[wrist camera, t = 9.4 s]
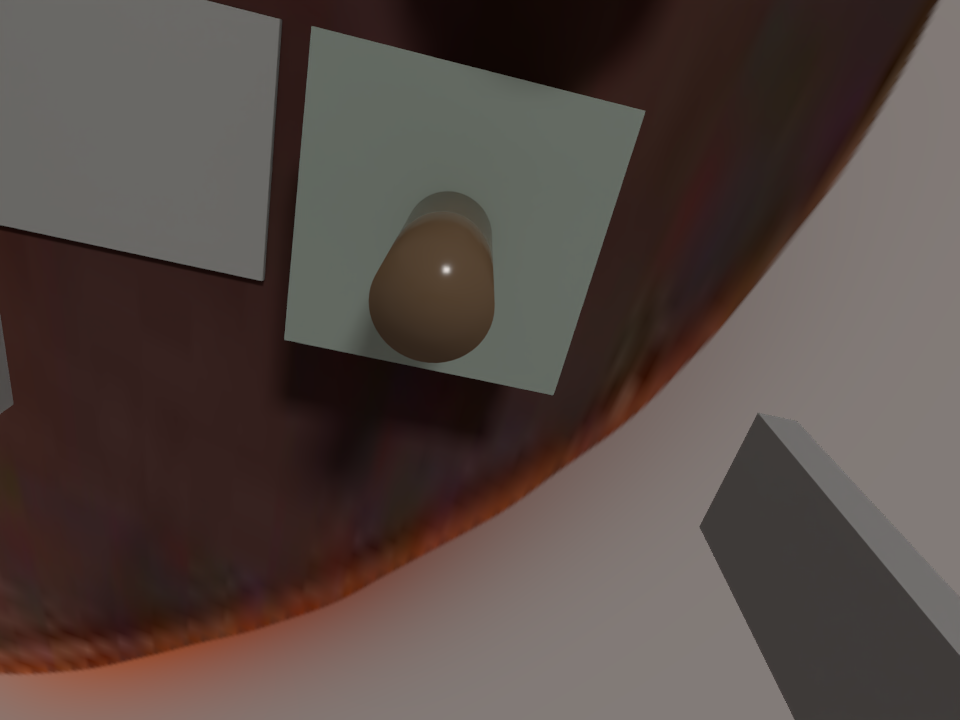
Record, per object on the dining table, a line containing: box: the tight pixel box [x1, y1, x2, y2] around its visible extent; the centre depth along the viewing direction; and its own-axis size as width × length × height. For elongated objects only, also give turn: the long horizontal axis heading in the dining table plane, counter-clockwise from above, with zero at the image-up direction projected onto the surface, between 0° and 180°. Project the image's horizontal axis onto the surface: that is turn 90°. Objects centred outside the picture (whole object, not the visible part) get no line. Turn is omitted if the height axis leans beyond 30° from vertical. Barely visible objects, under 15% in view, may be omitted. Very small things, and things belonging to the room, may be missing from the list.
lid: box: [284, 26, 645, 395], centre depth 20 cm, size 12×12×9 cm
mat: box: [0, 0, 282, 281], centre depth 27 cm, size 14×12×1 cm
